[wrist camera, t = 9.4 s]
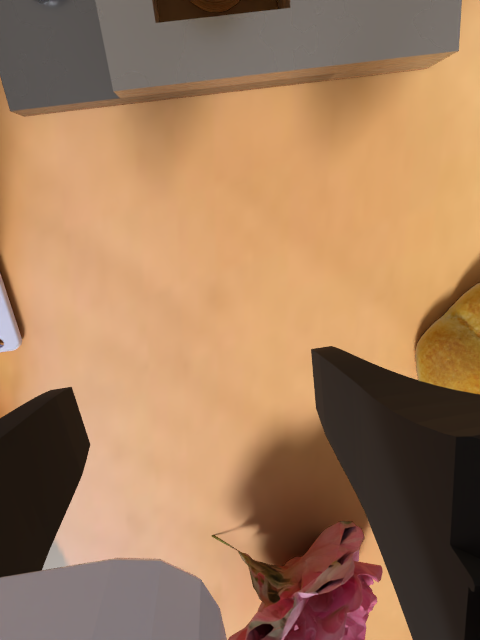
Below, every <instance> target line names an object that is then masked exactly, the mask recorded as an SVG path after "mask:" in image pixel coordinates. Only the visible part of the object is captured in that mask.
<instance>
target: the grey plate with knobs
mask: <svg viewBox="0 0 480 640" xmlns="http://www.w3.org/2000/svg"><path fill="white" fill-rule="evenodd" d="M461 4H462V0H278V9H276V10H267V11H258V12H249V13H240V14H231V15H223V16H214V17H205V18H196V19H187V20H178V21H169V22H161V23H160V20H159V14H158V7H157V1H156V0H0V76H1V80H2V84H3V87H4V91H5V94H6V98H7V101H8V105H9V108H10V111H11V112H14V113H16V114H19V115H22V116H31V115H39V114H48V113H56V112H65V111H73V110H82V109H90V108H99V107H107V106H116V105H124V104H133V103H141V102H150V101H158V100H166V99H175V98H183V97H192V96H200V95H209V94H217V93H226V92H234V91H243V90H251V89H260V88H268V87H277V86H285V85H294V84H302V83H310V82H319V81H327V80H336V79H344V78H353V77H361V76H370V75H378V74H387V73H395V72H404V71H412V70H421V69H427V68H429V67H431V66H432V65H434V64H436V63H438V62H440V61H441V60H443V59H445V58H447V57H449V56H450V55H452V54H454V53H456V52H458V51H459V37H460V20H461Z"/></svg>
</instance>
